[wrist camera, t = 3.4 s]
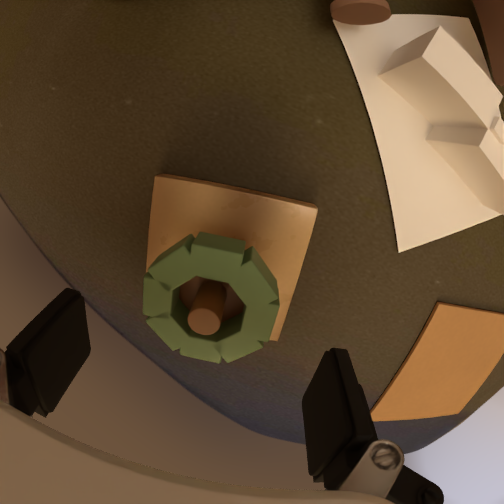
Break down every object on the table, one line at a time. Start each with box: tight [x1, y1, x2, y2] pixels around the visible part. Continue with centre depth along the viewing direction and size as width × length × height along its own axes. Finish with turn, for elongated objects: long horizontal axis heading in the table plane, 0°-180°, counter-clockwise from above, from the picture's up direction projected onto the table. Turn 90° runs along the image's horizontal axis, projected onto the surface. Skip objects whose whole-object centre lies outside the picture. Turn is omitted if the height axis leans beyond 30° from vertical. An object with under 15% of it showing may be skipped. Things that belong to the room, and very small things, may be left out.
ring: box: [143, 232, 280, 363], centre depth 13 cm, size 6×6×2 cm
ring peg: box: [146, 173, 318, 341], centre depth 15 cm, size 9×9×7 cm
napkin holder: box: [333, 14, 504, 252], centre depth 11 cm, size 15×11×6 cm
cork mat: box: [370, 302, 504, 421], centre depth 21 cm, size 14×14×1 cm
